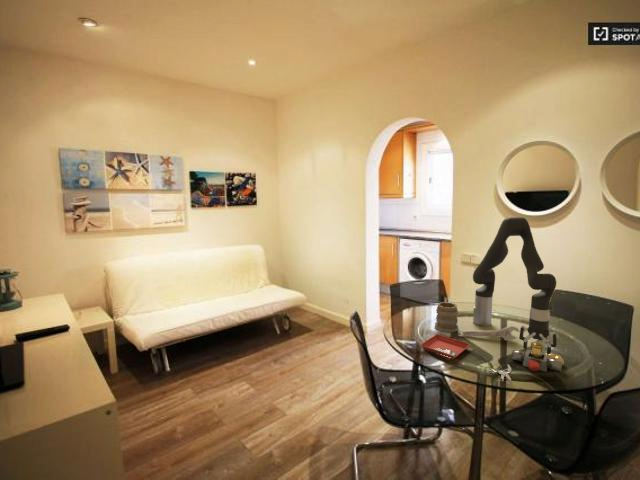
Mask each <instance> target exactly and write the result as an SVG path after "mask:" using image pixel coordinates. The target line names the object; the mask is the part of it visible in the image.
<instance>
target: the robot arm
mask: <svg viewBox="0 0 640 480" xmlns="http://www.w3.org/2000/svg"><path fill="white" fill-rule="evenodd" d="M509 237H520V238H521V239H522V241H523V244H522V248H521V252H520V257H521V260H522V263H523V265H524V267H525V269H526V270H525V271H526V274H527V275H526V276H527V277H526V278H527V284H528V285H529V287H530V288H531V289H532V290H535V291H539V292H537V293H534V294H532V295H531V300H530V309H529V321H528V327H525V326H524V325H521V327H520V328H519V329H520V330H519V337H518V338H519V340H520V341H522V342H523V346H522V347H523V349H524V350H525V351H527V350H528V343H529V342H528V341H529V340H531V339H533V340H539V341H540V342H541V341H543V342H544V344H546V353H547V355H549V354H552V348H556V347H557V343H558V342H557V341H558V334H557V332H555V331H554V332H552V331H551V332H550V331H549V329H550V316H551V315H550V307H551V300H552V297H553V295H554V292H555V290H556V287H557V279H556V277H555V276H554V274H551V273H539V272H541V271H542V270H543V269H544V267H545V265H544V262H543V261H542V259H541V257H540V255H539V252H538V250H537V248H536V245H535V241H534V237H533V234H532V231H531V226H530V223H529V221H528V219H526V218H525V217H519V216H518V217H517V216H516V217H514V216H513V217H506V218H504V219H503V220H502V221H501V224H500V226H499V228H498V230H497V234H496V235H495V237H494V239H493V242H492V243H491V245H490V246H489V247H488V250H487V251H486V253H485V255H484V257H483V258H482V260H481V261H480V263H479V264H478V265H477V267H476V268H475V269H474V271H473V274H472V280H473V282H474V283H475V285H476V284H477V285H482V286H481V287H479V288H477V289H475V294H474V295H475V296H474V297H475V299H474V307H473V317H472V323H473V324H475V325H479V326H483V327H488V326H489V327H490V326H491V325H492V315H493V297H494V291H495V283H496V272H495V271H494V268H496V267H498V266H499V265H501V264H502V263H503V262H504V261H505V259H506V258H507V256H508V254H509V249H508V248H509V246H508V244H507V240H508V238H509ZM526 331H527V333H528V334H527V336H524V334H525V332H526ZM549 336H550V338H552V342H551V341H550V339H549Z"/></svg>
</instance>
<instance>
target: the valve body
mask: <svg viewBox="0 0 640 480" xmlns="http://www.w3.org/2000/svg"><path fill="white" fill-rule="evenodd" d="M511 359H512V360H514V361H518V362H522V367H526V368H528V369H529V370H530V371H533V372H537V371H541V372H544V373H545V372H546V373H547V371H548V369H549V370H553V371H557V372H560V373H561V372H562V367H563V366H562V361H558V360H554V359H550V358H548V355H547V354H544V353H543V352H542V360H541V359H537V358H533V357H531V349H527V350H526V352H524V351H520V350H517V349H512V353H511Z"/></svg>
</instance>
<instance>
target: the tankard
mask: <svg viewBox="0 0 640 480" xmlns="http://www.w3.org/2000/svg"><path fill="white" fill-rule="evenodd" d="M443 301H444V302H443ZM443 301H441V302H439V303H437V306H436V310H435V311H436V317H435V319H436V322H434V329H436V330H437V331H440V332H442V333H452V334H453V333H455V332H458V331H459V325H458V321H459V320H458V315H459V311H458V306H457V304H455V303H453V302H448V296H444V300H443Z"/></svg>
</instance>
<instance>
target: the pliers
mask: <svg viewBox="0 0 640 480" xmlns="http://www.w3.org/2000/svg"><path fill="white" fill-rule="evenodd" d="M485 364H487V365H489V366H490V364H489V363H488V362H486V363H485ZM487 365H486V366H487ZM505 370H508V371H510V372H512V367H511V366H510V364H507V368H506V369H503V370H502V371H501V370H499V371H500V372H499V371H498V373H499V374H501V377H500V380H501V379H502V380H501V382H505V381H504V380H507V381H508V383H511V382H512V378H511V377H510V374H507V373H505V372H506V371H505ZM503 371H504V372H503ZM504 377H506V378H504Z"/></svg>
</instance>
